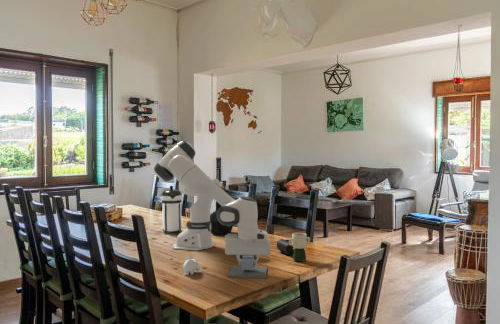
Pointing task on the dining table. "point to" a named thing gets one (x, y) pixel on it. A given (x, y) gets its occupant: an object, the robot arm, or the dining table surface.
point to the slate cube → (247, 262)
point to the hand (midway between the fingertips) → (248, 264)
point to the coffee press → (171, 210)
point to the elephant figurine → (190, 265)
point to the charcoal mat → (247, 272)
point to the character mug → (299, 245)
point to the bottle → (215, 225)
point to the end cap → (285, 247)
